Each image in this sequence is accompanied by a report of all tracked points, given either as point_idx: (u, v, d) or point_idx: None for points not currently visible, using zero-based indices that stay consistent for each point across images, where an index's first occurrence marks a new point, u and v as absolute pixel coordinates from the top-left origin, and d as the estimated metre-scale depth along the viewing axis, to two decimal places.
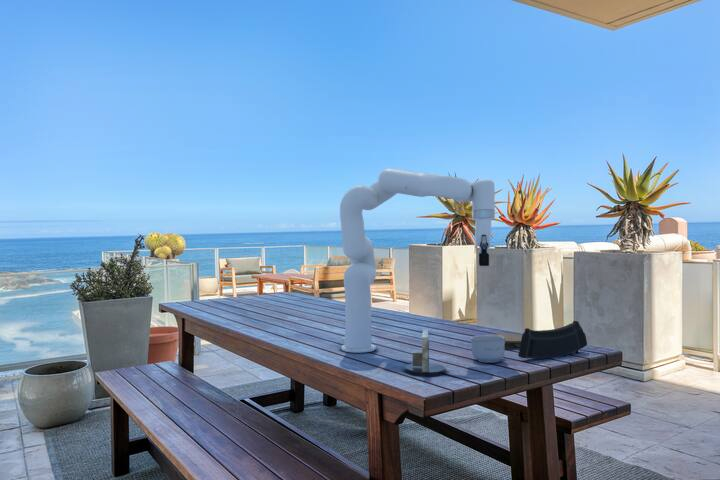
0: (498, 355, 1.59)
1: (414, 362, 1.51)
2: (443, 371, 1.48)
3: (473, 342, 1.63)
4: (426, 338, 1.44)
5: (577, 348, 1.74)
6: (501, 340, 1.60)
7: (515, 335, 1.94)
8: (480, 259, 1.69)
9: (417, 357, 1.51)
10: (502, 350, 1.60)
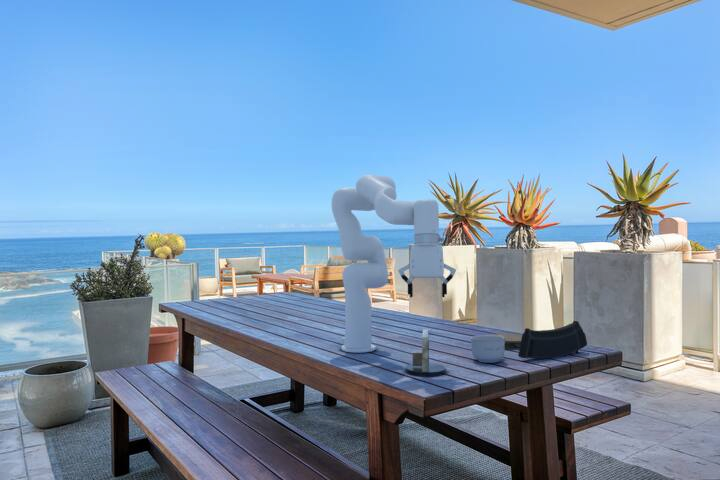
0: (498, 355, 1.59)
1: (414, 362, 1.51)
2: (443, 371, 1.48)
3: (473, 342, 1.63)
4: (426, 338, 1.44)
5: (577, 348, 1.74)
6: (501, 340, 1.60)
7: (515, 335, 1.94)
8: None
9: (417, 357, 1.51)
10: (502, 350, 1.60)
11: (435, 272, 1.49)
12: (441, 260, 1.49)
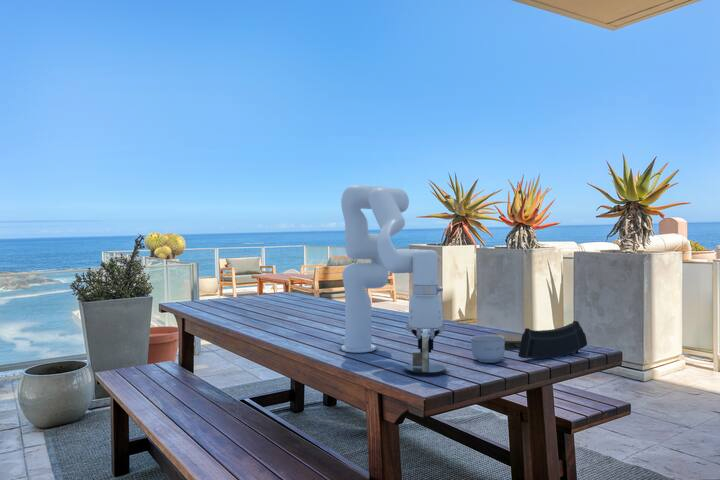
0: (498, 355, 1.59)
1: (414, 362, 1.51)
2: (443, 371, 1.48)
3: (473, 342, 1.63)
4: (426, 338, 1.44)
5: (577, 348, 1.74)
6: (501, 340, 1.60)
7: (515, 335, 1.94)
8: None
9: (417, 357, 1.51)
10: (502, 350, 1.60)
11: (434, 323, 1.49)
12: (440, 311, 1.49)
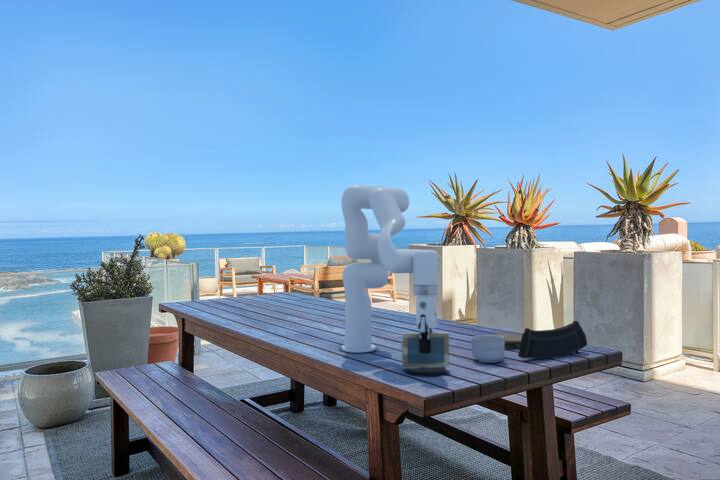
0: (498, 355, 1.59)
1: None
2: (443, 371, 1.48)
3: (473, 342, 1.63)
4: (402, 334, 1.50)
5: (577, 348, 1.74)
6: (501, 340, 1.60)
7: (515, 335, 1.94)
8: None
9: None
10: (502, 350, 1.60)
11: (417, 323, 1.50)
12: (416, 312, 1.48)
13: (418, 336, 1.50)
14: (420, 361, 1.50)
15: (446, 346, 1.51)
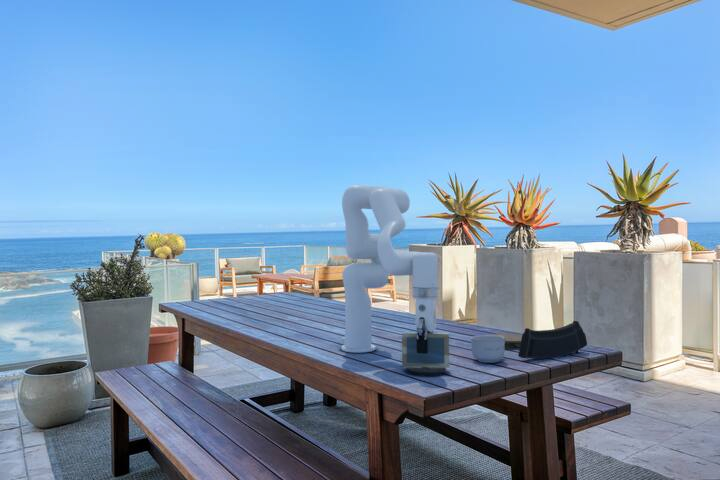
0: (498, 355, 1.59)
1: None
2: (443, 371, 1.48)
3: (473, 342, 1.63)
4: (402, 334, 1.52)
5: (577, 348, 1.74)
6: (501, 340, 1.60)
7: (515, 335, 1.94)
8: None
9: None
10: (502, 350, 1.60)
11: None
12: (415, 315, 1.48)
13: None
14: (419, 361, 1.50)
15: (447, 347, 1.50)
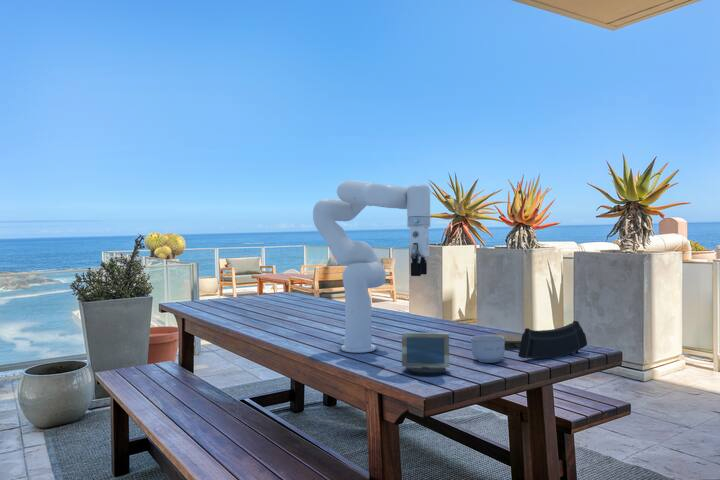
0: (498, 355, 1.59)
1: None
2: (443, 371, 1.48)
3: (473, 342, 1.63)
4: (402, 334, 1.52)
5: (577, 348, 1.74)
6: (501, 340, 1.60)
7: (515, 335, 1.94)
8: None
9: None
10: (502, 350, 1.60)
11: None
12: None
13: (417, 336, 1.51)
14: (419, 361, 1.50)
15: (447, 347, 1.50)
